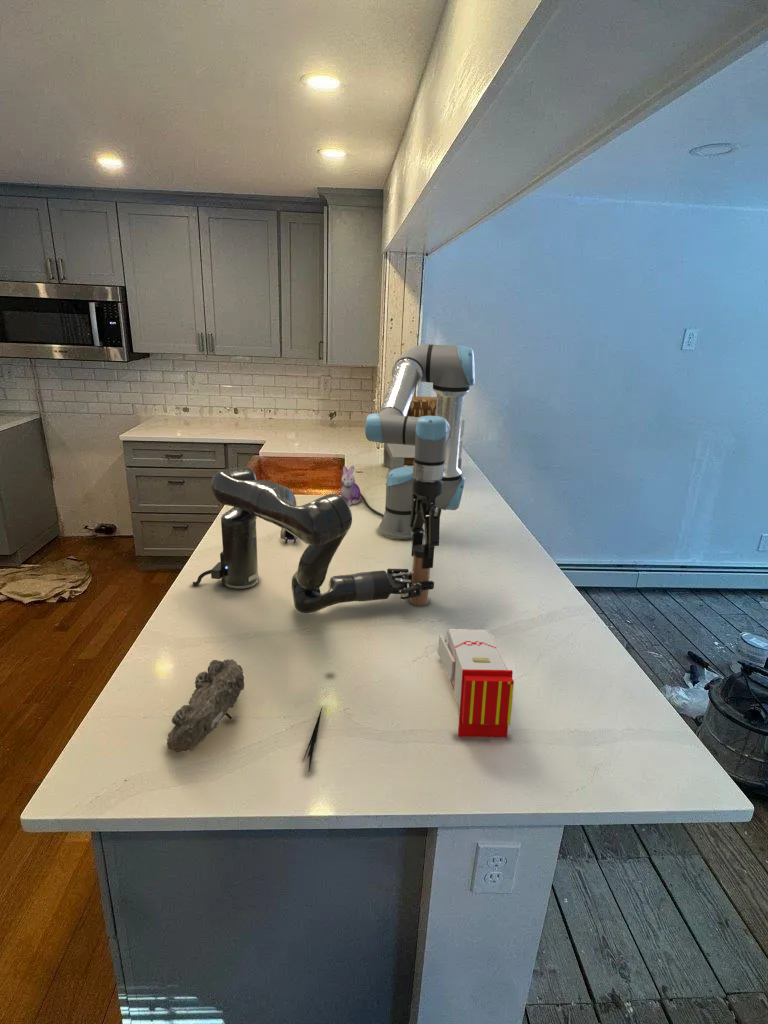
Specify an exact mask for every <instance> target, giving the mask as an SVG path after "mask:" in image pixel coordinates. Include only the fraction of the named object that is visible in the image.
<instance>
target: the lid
mask: <svg viewBox="0 0 768 1024" xmlns="http://www.w3.org/2000/svg"><path fill="white" fill-rule="evenodd" d="M423 544H424V543H423ZM423 544H418V545H415V546H413V549H412V548H411V554H413V555H414V556H416V557H419V558H423V548H424V546H423Z"/></svg>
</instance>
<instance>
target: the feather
mask: <svg viewBox="0 0 768 1024" xmlns="http://www.w3.org/2000/svg"><path fill="white" fill-rule="evenodd" d="M329 675H330V676H331V675H332V674H331V673H330V674H329ZM322 710H323V707H321V708H320V710H319V713H318V716H317V719H316V723H315V725H314V728H313V731H312V733H311V737H310V739H309V742H308V745H307V748H306V751H305V754H304V757H303V760H302V763H301V767H302V765H303V763H304V761H305V758H308V759H309V760H308V762H307V763H308V764H307V766H308V771H310V770H311V766H312V765H311V764H312V760H313V757H315V756H314V755H315V751H316V749H315V746H317V739H318V733H319V729H320V722H321V717H322V712H323V711H322ZM313 754H314V755H313ZM306 755H307V757H306Z"/></svg>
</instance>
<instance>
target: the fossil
mask: <svg viewBox="0 0 768 1024" xmlns="http://www.w3.org/2000/svg"><path fill="white" fill-rule="evenodd" d="M243 670H244V669H243V667H242V665H240V664H237V662H236V661H235V660H234V659H232V658H231V659H227V658H226V659H224V660H223V661H222V660H217V659H212V660H211V661H210V663H209V665H208V666H207V671H201V672H199V673H198V674H197V675H196V676H195V680H194V684H195V685H194V687H195V689H194V690H193V693H192V694H191V697H190V698H189V700H188V704H184V705H182V706H181V707H180V709H177V710H176V711H175V713H174V715H173V716H172V718H171V723H172V724H173V727H172V730H171V731H170V732H168V734H167V738H166V741H167V742H166V745H167V749H168V750H169V751H173V752H174V753H176V754H178V753H182V752H188V751H189V752H192V751H193V750H195V748H196V747H197V746H199V744H200V743H201V742H203V741H204V740H205V739H206V738H207V737H208V736H209V735H210V734H211V733H212V732H214V730H215V729H217V727H218V726H219V724H220V722H221V721H222V720H223V719H224V718H225V716H226V717H227V719H229V720H233V717H232V715H230V714H229V710H230V709H231V708H234V706H235V704H236V703H237V702H238V699H239V697H240V695H241V693H242V691H243V690H245V689H244V688H245V675H244V671H243Z"/></svg>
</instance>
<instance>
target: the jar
mask: <svg viewBox="0 0 768 1024" xmlns="http://www.w3.org/2000/svg"><path fill="white" fill-rule="evenodd" d="M422 562H423V558H419V557H416V556H414V555H413V557H412V566H411V568H412V569H411V572H412V579H411V580H412V581H413V582H424V581H431V569H432V568H427V569H423V568H422ZM413 586H416V585H412V587H413ZM414 593H416V592H414ZM429 594H430V590H422V591H421V595H420V596H416V597H412V598H409V602H410V603H411V604H412V605H414V606H420V607H421V606H425V605H427V604H428V603H429Z"/></svg>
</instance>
